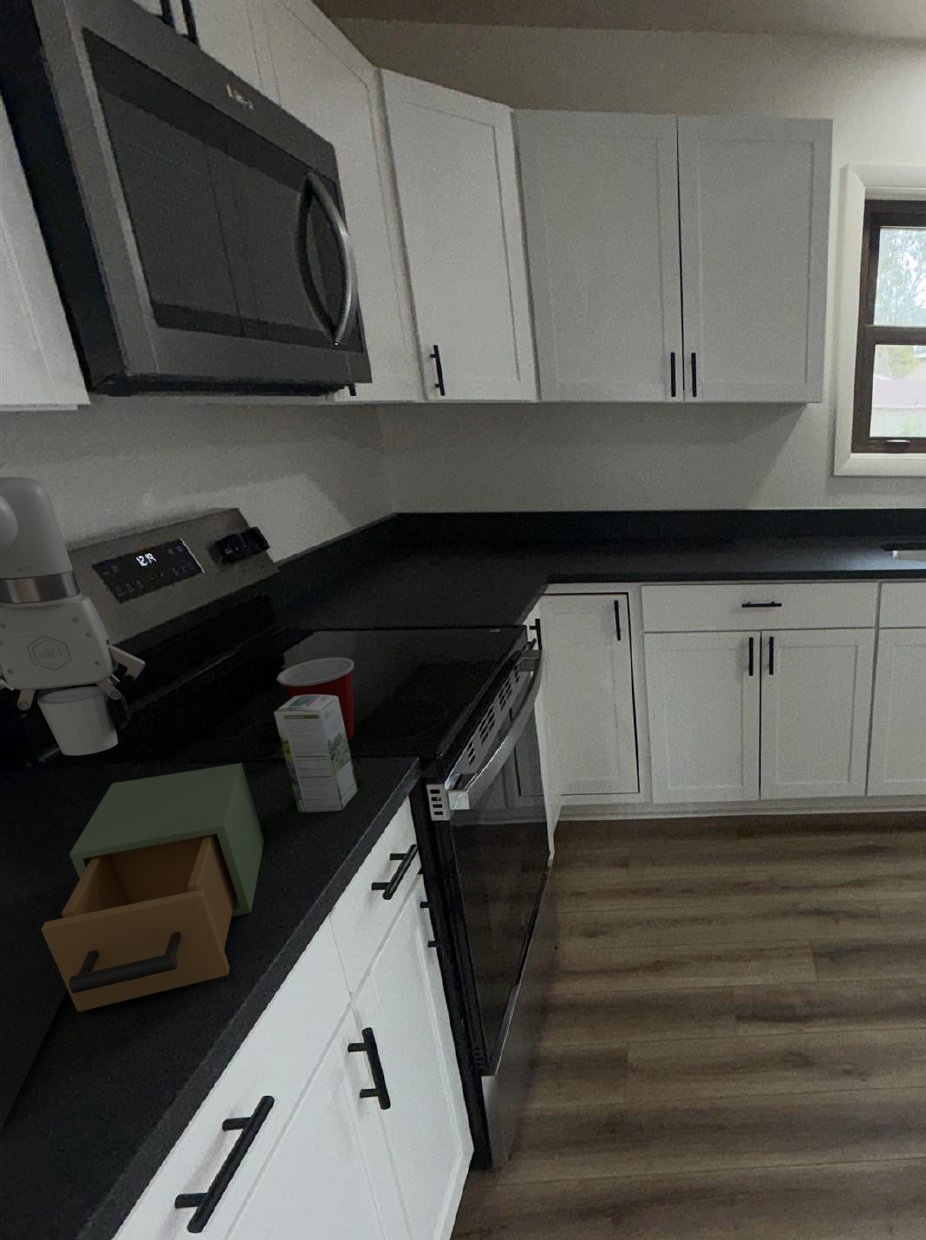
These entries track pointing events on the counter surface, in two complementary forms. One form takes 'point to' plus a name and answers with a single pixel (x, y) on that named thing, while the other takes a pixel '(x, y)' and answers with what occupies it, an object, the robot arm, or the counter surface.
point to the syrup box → (316, 752)
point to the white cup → (79, 720)
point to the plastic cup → (323, 683)
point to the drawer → (144, 922)
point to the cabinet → (181, 821)
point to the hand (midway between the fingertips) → (85, 730)
